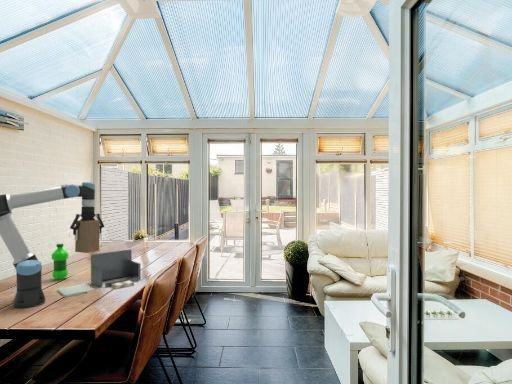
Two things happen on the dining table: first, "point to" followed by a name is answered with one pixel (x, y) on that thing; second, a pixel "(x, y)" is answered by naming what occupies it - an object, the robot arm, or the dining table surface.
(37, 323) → the dining table surface
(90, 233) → the wooden block
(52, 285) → the dining table surface
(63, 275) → the plastic bottle
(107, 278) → the rack
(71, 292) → the sage mat
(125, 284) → the cream offcut
